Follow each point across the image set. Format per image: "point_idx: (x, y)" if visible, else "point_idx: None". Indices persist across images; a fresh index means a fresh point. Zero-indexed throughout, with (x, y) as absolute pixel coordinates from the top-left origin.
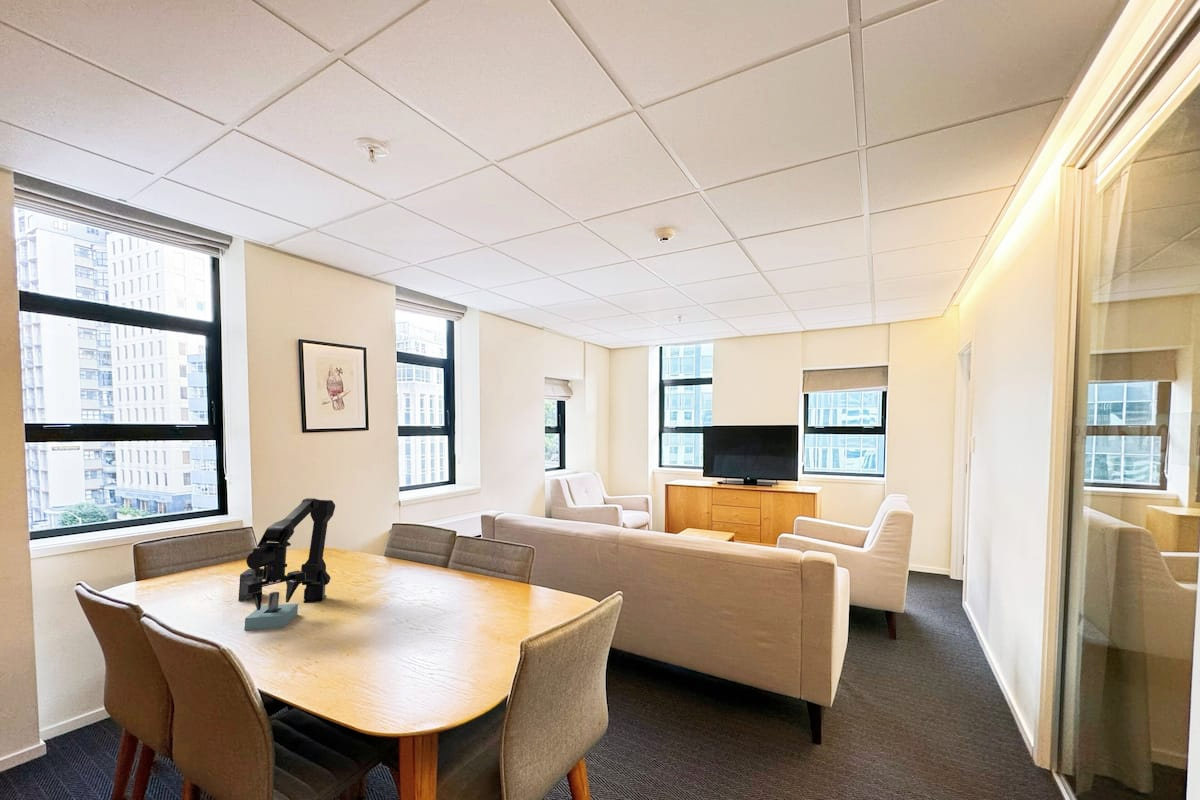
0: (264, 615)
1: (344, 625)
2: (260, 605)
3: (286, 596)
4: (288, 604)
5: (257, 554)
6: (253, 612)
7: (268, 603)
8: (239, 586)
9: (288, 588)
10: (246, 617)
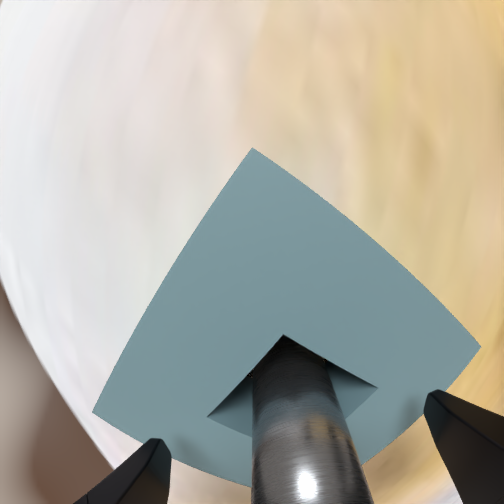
0: (208, 456)
1: (415, 489)
2: (163, 499)
3: (456, 430)
4: (446, 328)
5: None
6: (139, 343)
7: (252, 469)
8: None
9: (502, 489)
10: (97, 407)
